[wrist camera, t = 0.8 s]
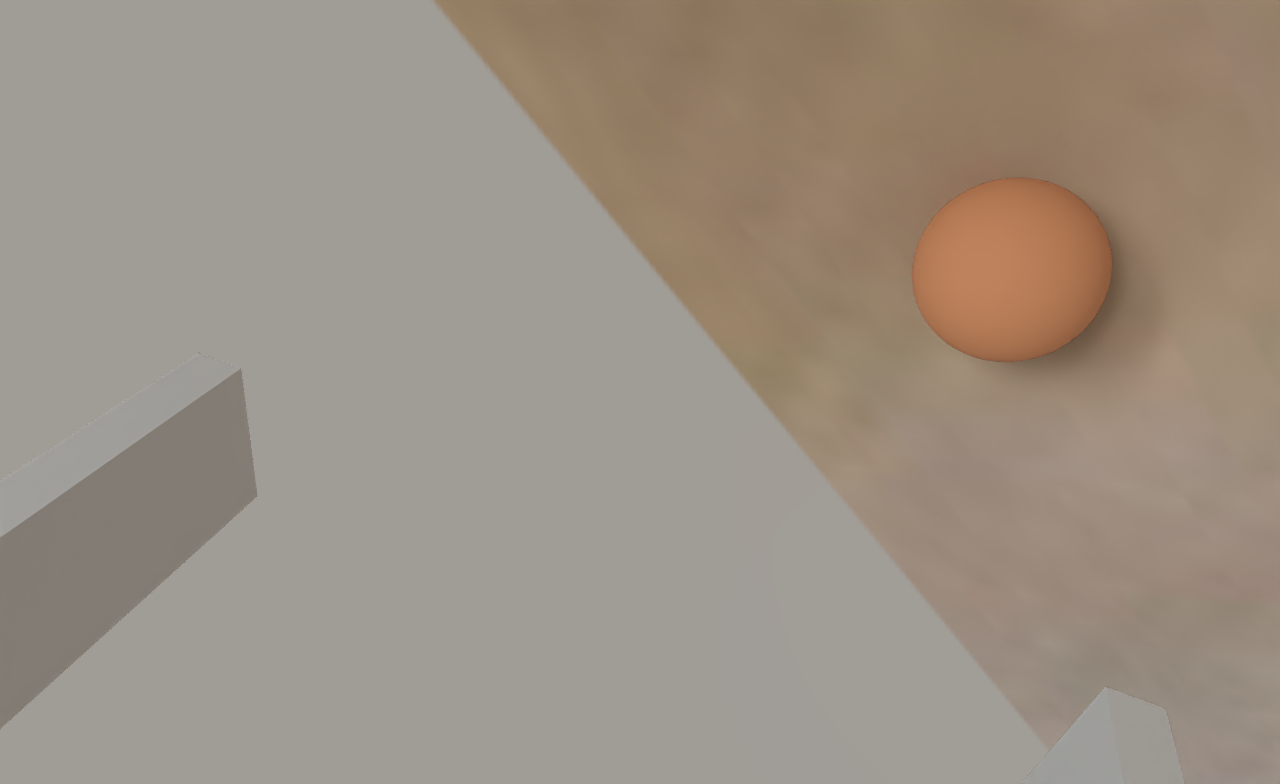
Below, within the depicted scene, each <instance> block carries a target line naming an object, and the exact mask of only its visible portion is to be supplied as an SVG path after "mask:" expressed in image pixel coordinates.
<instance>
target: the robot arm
mask: <svg viewBox="0 0 1280 784" xmlns="http://www.w3.org/2000/svg"><path fill="white" fill-rule="evenodd" d="M256 497H257V490H256V482H255V474H254V467H253V458H252V450H251V442H250V435H249V427H248V419H247V412H246V403H245V395H244V387H243V379H242V372H241V368H239V367H237V366H234V365H231V364H229V363H226V362H223V361H220V360H218V359H215V358H212V357H210V356H207V355H204V354H201V353H198V354H196V355H194V356H193V357H191V358H190V359H188V360H187V361H185V362H184V363H182V364H181V365H179V366H177V367H176V368H174V369H173V370H171V371H170V372H168V373H167V374H165V375H163V376H162V377H160V378H159V379H157V380H156V381H154V382H152V383H151V384H149V385H148V386H146V387H145V388H143V389H142V390H140V391H139V392H137V393H135V394H134V395H132V396H131V397H129V398H128V399H126V400H124V401H123V402H121V403H120V404H118V405H117V406H115V407H114V408H112V409H111V410H109V411H107V412H106V413H104V414H103V415H101V416H100V417H98V418H97V419H95V420H93V421H92V422H90V423H89V424H87V425H86V426H84V427H83V428H81V429H79V430H78V431H76V432H75V433H73V434H72V435H70V436H69V437H67V438H65V439H64V440H62V441H61V442H59V443H58V444H56V445H55V446H53V447H51V448H50V449H48V450H47V451H45V452H44V453H42V454H41V455H39V456H38V457H36V458H34V459H33V460H31V461H30V462H28V463H27V464H25V465H24V466H22V467H20V468H19V469H17V470H16V471H14V472H13V473H11V474H10V475H8V476H6V477H5V478H3V479H2V480H0V729H1V728H2V727H3V726H4V725H5V724H6V723H7V722H8V721H9V720H11V719H12V718H13V717H14V716H15V715H16V714H17V713H18V712H20V711H21V710H22V709H23V708H24V707H25V706H26V705H27V704H28V703H29V702H31V701H32V700H33V699H34V698H35V697H36V696H37V695H38V694H39V693H41V692H42V691H43V690H44V689H45V688H46V687H47V686H48V685H49V684H50V683H51V682H53V681H54V680H55V679H56V678H57V677H58V676H59V675H60V674H62V673H63V672H64V671H65V670H66V669H67V668H68V667H69V666H70V665H71V664H73V663H74V662H75V661H76V660H77V659H78V658H79V657H80V656H81V655H83V654H84V653H85V652H86V651H87V650H88V649H89V648H90V647H91V646H92V645H94V644H95V643H96V642H97V641H98V640H99V639H100V638H101V637H102V636H103V635H105V634H106V633H107V632H108V631H109V630H110V629H111V628H112V627H113V626H115V625H116V624H117V623H118V622H119V621H120V620H121V619H122V618H123V617H125V616H126V615H127V614H128V613H129V612H130V611H131V610H132V609H133V608H134V607H136V606H137V605H138V604H139V603H140V602H141V601H142V600H143V599H144V598H146V597H147V596H148V595H149V594H150V593H151V592H152V591H153V590H154V589H156V588H157V586H159V585H160V584H161V583H162V582H163V581H164V580H165V579H167V578H168V577H169V576H170V575H171V574H172V573H173V572H174V571H175V570H176V569H178V568H179V567H180V566H181V565H182V564H183V563H184V562H185V561H186V560H188V558H190V557H191V556H192V555H193V554H194V553H195V552H196V551H198V550H199V549H200V548H201V547H202V546H203V545H204V544H205V543H206V542H207V541H209V540H210V539H211V538H212V537H213V536H214V535H215V534H216V533H217V532H218V531H219V530H221V529H222V528H223V527H224V526H225V525H226V524H227V523H228V522H229V521H231V520H232V519H233V518H234V517H235V516H236V515H237V514H238V513H240V511H242V510H243V509H244V508H245V507H246V506H247V505H248V504H249V503H251V502H252V501H253V500H254V499H255V498H256ZM1021 784H1185V782H1184V778H1183V774H1182V770H1181V766H1180V763H1179V759H1178V755H1177V751H1176V747H1175V743H1174V739H1173V735H1172V731H1171V727H1170V723H1169V719H1168V715H1167V711H1166V709H1165V708H1162V707H1160V706H1157V705H1154V704H1151V703H1149V702H1146V701H1143V700H1141V699H1138V698H1135V697H1132V696H1130V695H1127V694H1124V693H1122V692H1119V691H1116V690H1113V689H1111V688H1108V687H1105V688H1104V689H1103V690H1102V691H1101V692H1100V693H1099V694H1098V696H1097V697H1096V698H1095V699H1094V700H1093V701H1092V703H1091V704H1090V705H1089V706H1088V707H1087V708H1086V709H1085V711H1084V712H1083V713H1082V714H1081V715H1080V716H1079V717H1078V719H1077V720H1076V721H1075V722H1074V723H1073V724H1072V725H1071V727H1070V728H1069V729H1068V730H1067V731H1066V732H1065V734H1064V735H1063V736H1062V737H1061V738H1060V739H1059V740H1058V742H1057V743H1056V744H1055V745H1054V746H1053V747H1052V748H1051V750H1050V751H1049V752H1048V753H1047V754H1046V755H1045V757H1044V758H1043V759H1042V760H1041V761H1040V762H1039V763H1038V765H1037V766H1036V767H1035V768H1034V769H1033V771H1032V772H1031V773H1030V774H1029V775H1028V776H1027V777H1026V778H1025V780H1024V781H1023V782H1022V783H1021Z"/></svg>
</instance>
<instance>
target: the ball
mask: <svg viewBox="0 0 1280 784" xmlns="http://www.w3.org/2000/svg"><path fill="white" fill-rule="evenodd" d="M1111 273H1112V255H1111V249H1110V243H1109V240H1108V237H1107V234H1106V231H1105V229H1104V227H1103V226H1102V224H1101V222H1100V220H1099V219H1098V217H1097V216H1096V214H1095V213H1094V212H1093V211H1092V209H1091V208H1090V207H1089V206H1088V205H1087V204H1086V203H1085V202H1084V201H1082V200H1081V199H1080V198H1079V197H1077V196H1076V195H1074V194H1073V193H1071V192H1070V191H1068V190H1066V189H1064V188H1062V187H1060V186H1058V185H1056V184H1053V183H1050V182H1047V181H1042V180H1037V179H1030V178H1006V179H1000V180H994V181H990V182H987V183H983V184H981V185H978V186H976V187H973V188H971V189H969V190H967V191H965V192H963V193H962V194H960V195H958V196H957V197H955V198H954V199H953V200H951V201H950V202H948V203H947V204H946V205H945V206H944V207H943V208H942V209H941V210H940V211H939V212H938V213H937V214H936V215H935V217H934V218H933V219H932V220H931V222H930V223H929V225H928V226H927V228H926V229H925V231H924V232H923V234H922V236H921V239H920V241H919V243H918V246H917V249H916V252H915V256H914V262H913V270H912V280H913V289H914V295H915V298H916V301H917V304H918V307H919V309H920V311H921V313H922V315H923V317H924V319H925V320H926V322H927V323H928V325H929V326H930V327H931V328H932V329H933V330H934V332H935V333H936V334H937V335H938V336H939V337H940V338H941V339H943V340H944V341H945V342H946V343H948V344H949V345H951V346H952V347H954V348H955V349H957V350H959V351H961V352H963V353H965V354H968V355H971V356H973V357H976V358H980V359H984V360H989V361H997V362H1014V361H1023V360H1028V359H1033V358H1037V357H1040V356H1043V355H1046V354H1048V353H1051V352H1053V351H1055V350H1057V349H1059V348H1060V347H1062V346H1064V345H1065V344H1067V343H1068V342H1070V341H1071V340H1073V339H1074V338H1075V337H1076V336H1078V335H1079V334H1080V333H1081V332H1082V331H1083V330H1084V329H1085V328H1086V327H1087V326H1088V325H1089V324H1090V323H1091V321H1092V320H1093V319H1094V317H1095V316H1096V314H1097V313H1098V311H1099V310H1100V308H1101V306H1102V304H1103V302H1104V300H1105V298H1106V295H1107V292H1108V289H1109V286H1110V280H1111Z"/></svg>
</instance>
